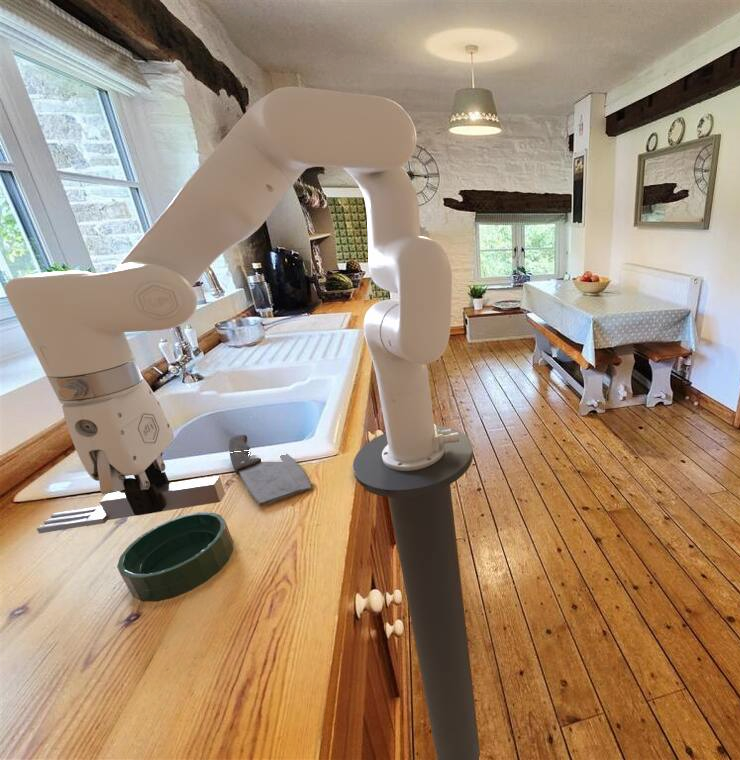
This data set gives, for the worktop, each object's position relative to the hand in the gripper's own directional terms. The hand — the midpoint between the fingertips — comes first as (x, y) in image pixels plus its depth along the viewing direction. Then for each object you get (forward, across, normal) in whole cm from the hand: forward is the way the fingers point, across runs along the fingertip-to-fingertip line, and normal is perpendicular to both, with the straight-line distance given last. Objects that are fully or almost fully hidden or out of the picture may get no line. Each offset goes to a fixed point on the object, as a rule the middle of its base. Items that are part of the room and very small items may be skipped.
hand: (155, 504), depth 55 cm
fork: (+1, 0, +3) cm, 3 cm away
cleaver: (+12, +25, -4) cm, 28 cm away
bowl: (+12, 0, 0) cm, 12 cm away
